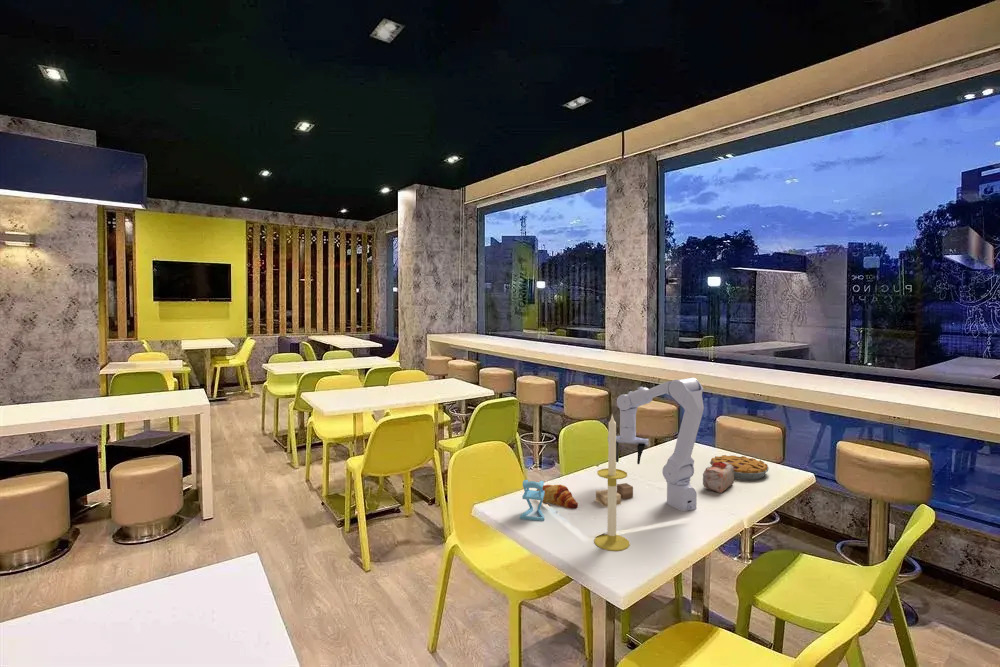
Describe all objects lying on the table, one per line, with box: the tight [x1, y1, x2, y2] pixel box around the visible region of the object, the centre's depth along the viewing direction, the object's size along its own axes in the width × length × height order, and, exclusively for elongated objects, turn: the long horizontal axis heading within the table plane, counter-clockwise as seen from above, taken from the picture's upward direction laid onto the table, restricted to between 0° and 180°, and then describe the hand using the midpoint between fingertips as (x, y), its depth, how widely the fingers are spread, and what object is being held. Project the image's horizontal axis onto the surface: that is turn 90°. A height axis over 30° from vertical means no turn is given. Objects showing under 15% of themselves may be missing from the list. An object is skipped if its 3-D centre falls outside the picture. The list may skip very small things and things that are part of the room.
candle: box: [593, 413, 630, 552], centre depth 143 cm, size 10×10×38 cm
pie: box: [709, 454, 770, 481], centre depth 205 cm, size 22×22×5 cm
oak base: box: [595, 489, 622, 507], centre depth 171 cm, size 6×6×3 cm
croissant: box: [536, 484, 579, 509], centre depth 174 cm, size 21×10×8 cm, turn 34°
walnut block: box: [616, 482, 634, 500], centre depth 176 cm, size 4×4×4 cm
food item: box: [702, 461, 735, 494], centre depth 188 cm, size 14×8×10 cm, turn 137°
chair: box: [519, 479, 545, 522], centre depth 164 cm, size 8×8×12 cm
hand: (627, 462), depth 186 cm, fingers open, 7 cm apart
